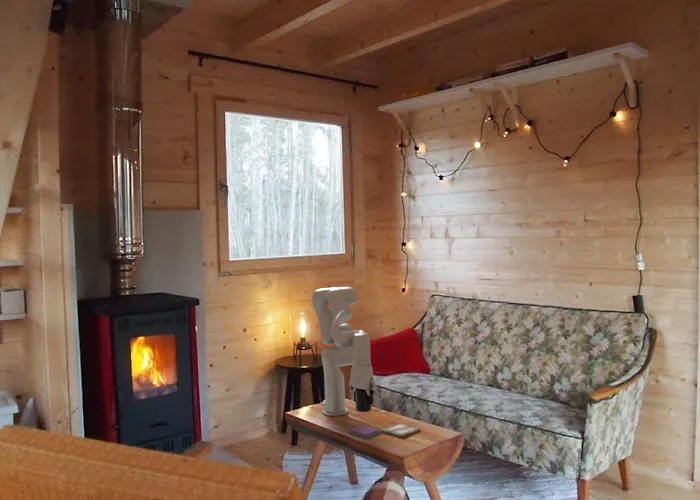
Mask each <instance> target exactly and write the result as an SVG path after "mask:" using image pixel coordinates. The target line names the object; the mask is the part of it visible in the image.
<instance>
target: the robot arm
mask: <svg viewBox="0 0 700 500" xmlns="http://www.w3.org/2000/svg"><path fill="white" fill-rule="evenodd" d="M358 299H359V297H358V292H357V290H356V289H355V288H353V287H351V286H340V287H339V286H338V287H324V288H323V287H322V288H319V289H316V290H314V291H313V293H312V295H311V302H312V307H313V310H314V312H315V313H316V316H317V319H318V325H319V330H320V335H321V336H320V337H321V340H322V342H323V344H324V345H327V346H328V345H330V347H326V348H325V349H323V350H322V352H321V362H322V366H323V375H324V377H323V378H324V400H323V401H322V402H320V405H321V406H322V407H323V409H322V414H323V415H325V416H331V417H338V416H343V415H347V414H348V413H349V412H350V411H349V410H350V409H349V408H348V407H346V397H345V396H346V395H345V393H346V392H345V391H346V390H345V374H344V373H343V371H342V370H341V369H340V368H341V367H345V366H351V370H350V380H349V381H348V385H349V386H350V389H351V391H352V393H353V402H354V403H356V397H355V391H356V389H362V390H366V392H367V394H368V396H367V405H371V406H372V405H373V404H374V395H375V393H376V391H377V390H378V385H377V384H376V383H375V377H374V370H373V365H372V361H371V360H372V359H371V339H370V338H371V336H370V334H369V333H367V332H365V331H364V330H363V329H353V327H352V325H351V324H349V323H346V322H348V321H349V320H350V319H351V318H352V317H353V310H352V308H351V306H354V305H356V304H358ZM331 345H335V346H331ZM369 389H370V392H369Z"/></svg>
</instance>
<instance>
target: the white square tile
mask: <svg viewBox="0 0 700 500" xmlns="http://www.w3.org/2000/svg"><path fill="white" fill-rule="evenodd" d="M380 431H381V433H380V434H385V435H389V436H393V437H396V438H399V439H406V438H407V437H410V436H412V435H414V434H417V433H419V432H421V428H419V427H415V426H411V425H408V424H404V423H399V422H398V423H394V424H393V425H391V426H388V427H386V428H384V429H381V430H380Z"/></svg>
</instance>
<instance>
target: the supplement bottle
mask: <svg viewBox="0 0 700 500" xmlns="http://www.w3.org/2000/svg"><path fill="white" fill-rule="evenodd" d="M369 392H370V389H369ZM367 396H368V394H367V392H366V390H362V389H356V391H355V397H356V402H355V410H356V411H357V412H360V413H367V412H371V411H372V409H373V407H372V404H371V405H367Z"/></svg>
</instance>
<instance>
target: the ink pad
mask: <svg viewBox="0 0 700 500" xmlns="http://www.w3.org/2000/svg"><path fill="white" fill-rule="evenodd" d="M347 434H348V435H352V436H355V437H358V438H362V439H365V440H368V439H371V438H373V437H375V436H378V435H380V434H382V433H381V430H380V429H377V428H373V427H369V426H365V425H359V426H357V427H354V428H352V429H350V430H347Z"/></svg>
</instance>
